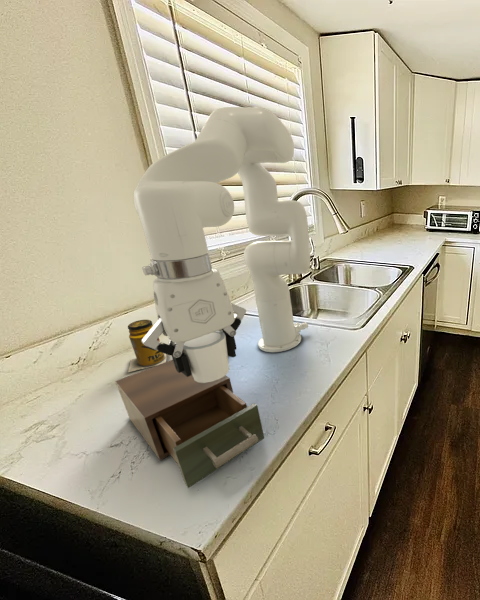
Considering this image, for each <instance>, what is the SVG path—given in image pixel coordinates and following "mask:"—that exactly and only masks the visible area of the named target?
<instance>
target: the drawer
mask: <svg viewBox="0 0 480 600" xmlns="http://www.w3.org/2000/svg"><path fill="white" fill-rule="evenodd" d="M152 421H153V424H154V426H155V429H156V432H157V435H158V437H159V440H160V442H161V443H162V445H163V446H164V447H165V448H166V450H167V451H168V452H169V453H170V455H169V456H171V457H172V459H173V460H174V461H175V462H176V464H177V465H178V468H179V470H180V474H181V476H182V479H183V482H184V485H185V486H186V488H187V489H189V488H191V487H192V486H194V485H195V484H197V483H199V482H200V481H202V480H203V479H205V478H206V477H208V476H209V475H211V474H213V473H214V472H216V471H217V470H219V469H220V468H222V467H223V466H225V465H226V464H227V463H229V462H231V461H232V460H234V459H235V458H237V457H238V456H240V455H241V454H243V453H244V452H246V451H247V450H249V449H250V448H252V447H253V446H255V445H256V444H258V443H260V442H262V440H264V439H265V436H264V431H263V425H262V420H261V416H260V411H259V406H258V404H256V403H254V402H253V403H251V404H250V405H247V403H246V402H245V401H244V400H242V399H241V398H240V397H239V396H238V395H236V394H235V393H234V392H233V393H232V392H231V391H230V390H228V389H227V388H226V387H224V386H223V385H222V386H220V387H218V388H216V389H214V390H212V391H210V392H208V393H205V394H203V395H201V396H199V397H197V398H195V399H193V400H191V401H189V402H187V403H185V404H183V405H180V406H178V407H176V408H174V409H172V410H170V411H168V412H166V413H164V414H162V415H160V416H157V417H155V418H153V419H152Z"/></svg>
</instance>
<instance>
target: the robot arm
mask: <svg viewBox="0 0 480 600" xmlns="http://www.w3.org/2000/svg"><path fill="white" fill-rule="evenodd" d="M294 154H295V145H294V140H293V136H292V134H291V132H290V131H289V129H288V127H287V126H286V125H285V124H284V122H283V121H282V120H281V119H280V118H279V117H278V116H277V115H276V114H275V113H273V112H272V111H271V110H269V109H267V108H264V107H259V106H258V107H255V106H251V107H249V106H224V107H219V108H216V109H214V110H213V111H212V112H211V113H210V115H209V116H208V118H207V119H206V121H205V123H204V125H203V127H202V128H201V130H200V131H199V133H198V135H197V137H196V139H195V140H194V141H192V142H190V143H188V144H186V145H183V146H182V147H179V148H177V149H175V150H174V151H172V152H169V153H167V154H165V155H163V156H161V157H160V158H157V159H156V160H155V161H154V162H153V163H151V164H149V166H148V167H147V169H146V170H145V171H144V173H143V175H142V176H141V177H140V178H139V180H138V182H137V185H136V187H135V188H134V190H133V204H134V209H135V212H136V213H137V215H138V217H139V220H140V224H141V227H142V231H143V235H144V237H145V241H146V244H147V248H148V251H149V255H150V263H149V264H148V265H145V266H142V272H143V274H144V275H145V276H155V277H156V278H154V279H153V280H152V292H153V300H154V306H155V312H156V316H157V321H156V322H155V323H154V324H153V327H152V328H151V329H150V330H149V332H148V333H147V334H146V335H145V336H144V338H143V339H142V340H141V342H142V343H143V344H144V345H145V346H147V347H150V348H152V349H155V350H157V351H159V352H162V353H165V354H166V355H168V356H171V358H172V360H173V362H174V365H175V368H176V370H177V372H178V373H180V372H182V373H183V374H184V375H185V376H186V377H189V376H191V374H192V373H191V369H190V366H189V362H188V359H187V356H186V355H185V354H184V353H183V348H184V344H185V342H186V341H190V340H193V339H195V338H198V337H201V336H204V335H207V334H210V333H212V332H215V331H218V330H222V331H223V333H224V334H225V337H226V345H227V354H228V357H230V358H235V357H237V354H236V350H237V349H238V348H237V344H236V339H235V336H236V335H237V330H238V328H239V327H240V326H241V323H242V320H243V318H245V315H246V313H247V309H246V308H244V307H241V306H239V305H237V304H235V303H233V302H232V301H231V299H230V298H231V297H230V295H229V293H228V290H227V286H226V284H225V282H224V279H223V277H222V275H221V273H220V271H219V269H216V268H213V265H212V261H211V257H210V253H209V248H208V244H207V239H206V235H205V231H204V228H216V227H217V228H219V227H221V226H224V225H226V224H227V223H229V222H230V221H231V220H232V218H233V216H234V213H235V202H234V199H233V196H232V194H231V193H230V191H229V190H228V189H227V188H226V187H224V186H223V185H222V184H221V182H223V181H226V180H229V179H231V178H233V177H234V176H236V175H237V174H238V176H239V178H240V181H241V185H242V190H243V199H244V209H245V218H246V219H245V220H246V225H247V228H248V230H249V232H250V233H251V234H253V235H254V236H259V237H279V236H280V237H283V236H286V237H287V236H288V237H290V239H291V240H259V241H254V242H251V243H249V244H248V245H246V247H245V249H244V252H243V260H244V263H245V266H246V269H247V271H248V274H249V277H250V280H251V284H252V288H253V291H254V292H253V293H254V298H255V303H256V309H257V314H258V320H259V326H260V331H261V336H262V337H260V339H259V340H258V343H257V345H258V349H259V350H261V351H263V352H266V353H281V352H285V351H289V350H291V349H294V348H295V347H297V346H298V345H299V344H300V343H301V342H302V335H301V333H300V332H301V331H303V330H305V329H307V328H309V324H308V322H307V321H305V322H302V323H300V322H299V321H298V322H295V321H294V315H293V308H292V307H293V306H292V301H291V293H290V287H289V284H288V283H287V282H286V281H285V279H284V278H283V277H282V276H283V275H286V276H287V275H302V274H306V273H307V272H308V271H309V270H310V268H311V248H310V235H309V223H308V216H307V211H306V208H305V206H304V205H303V204H302V202H300V201H298V200H293V199H283V200H282V199H281V200H279V197H278V188H277V187H278V186H277V185H278V184H277V181H276V179H275V178H274V176H273V175H272V173H270V171H269V170H267V168H265V167H264V166H263V164H285V163H289V162H290V161H292V159H293V157H294ZM219 183H220V184H219ZM161 335H163V336H165V337H167V338H168V343H164V342H163V341H160V342H159V341H157V339H158V338H159V339H160V336H161Z"/></svg>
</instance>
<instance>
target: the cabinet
mask: <svg viewBox="0 0 480 600" xmlns="http://www.w3.org/2000/svg"><path fill="white" fill-rule="evenodd" d="M114 382H115V384H116V387H117V390H118V392H119V395H120V398H121V400H122V402H123V405H124V408H125V411H126V413H127V415H128V419H129V420H130V421H131V423H132V424H133V426H134V427H135V428H136V429H137V431H138V432H139V433H140V435H141V436H142V438H143V439H144V441H145V442H146V443H147V444H148V446H149V447H150V449H151V450H152V452H153V453H154V455H155V456H156V457H157V458H158V459H159V461H163V459H165V458H167V457H169V456H171V455H170V453H169V452H168V451H167V450H166V448H165V447H164V446H163V445H162V443H161V442H160V440H159V437H158V435H157V432H156V429H155V426H154V424H153V421H152V419H153V418H155V417H157V416H160V415H162V414H164V413H166V412H168V411H170V410H172V409H174V408H176V407H178V406H180V405H183V404H185V403H187V402H189V401H191V400H193V399H195V398H197V397H199V396H201V395H203V394H205V393H208V392H210V391H212V390H214V389H216V388H218V387H220V386H222V385H223V386H224V387H226V388H227V389H228V390H230V391H231V392H232V393H233V394H234V389H233V386H232V381H231V378H230V377H229V376H228V375H227V374H226V375H225V376H224V377H222V378H220V379H218V380H215V381H212V382H206V383H200V382H197V381H195V380H194V377H193V375H192V374H191V376H189V377H186V376H185V375H184V374H183V373H182V372H180V373H178V372H177V370H176V368H175V365H174V362H173V359H171V360H166V362H165V363H162V364H159V365H157V366H153V367H149V368H145V369H143V370H141V371H139V372H136V373H133V374H130V375H127V376H125V377H123V378H120V379H117V380H115V381H114Z"/></svg>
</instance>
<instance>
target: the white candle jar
mask: <svg viewBox="0 0 480 600" xmlns="http://www.w3.org/2000/svg"><path fill="white" fill-rule="evenodd" d="M183 353H184V354H185V355H186V356H187V359H188V362H189V366H190V369H191V373H192V375H193V377H194V380H195V381H197V382H200V383H206V382H212V381H215V380H218V379H220V378H222V377H224V376H225V375H226V376H227V374H229V371H230V364H229V363H230V362H229V355H228V354H227V345H226V337H225V334H224V333H223V332H220V331H215V332H212V333H210V334H207V335H204V336H201V337H198V338H195V339H193V340H190V341H186V342H185V344H184V348H183Z"/></svg>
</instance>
